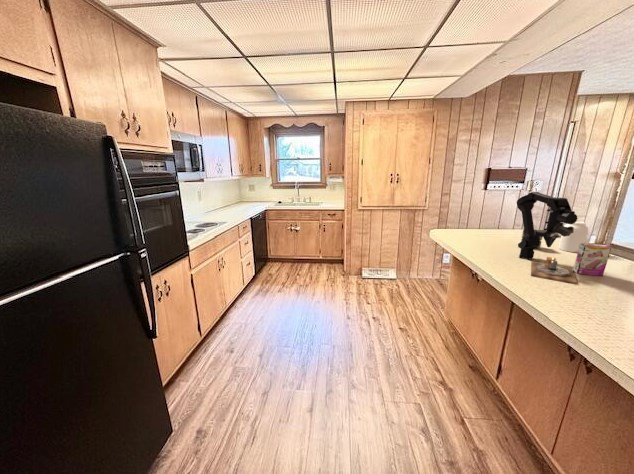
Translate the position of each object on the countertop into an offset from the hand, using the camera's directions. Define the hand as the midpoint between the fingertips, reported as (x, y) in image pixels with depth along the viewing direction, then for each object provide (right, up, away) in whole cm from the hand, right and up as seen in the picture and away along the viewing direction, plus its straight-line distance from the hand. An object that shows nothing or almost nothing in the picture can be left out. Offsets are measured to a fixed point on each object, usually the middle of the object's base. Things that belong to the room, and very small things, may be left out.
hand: (548, 246), depth 153 cm
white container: (+42, -3, +31) cm, 52 cm away
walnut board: (-3, -14, -6) cm, 15 cm away
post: (-4, -14, -6) cm, 16 cm away
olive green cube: (+20, -2, +39) cm, 44 cm away
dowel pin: (+4, -12, +2) cm, 13 cm away
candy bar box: (+14, -15, -8) cm, 22 cm away
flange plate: (-2, -12, -4) cm, 13 cm away
